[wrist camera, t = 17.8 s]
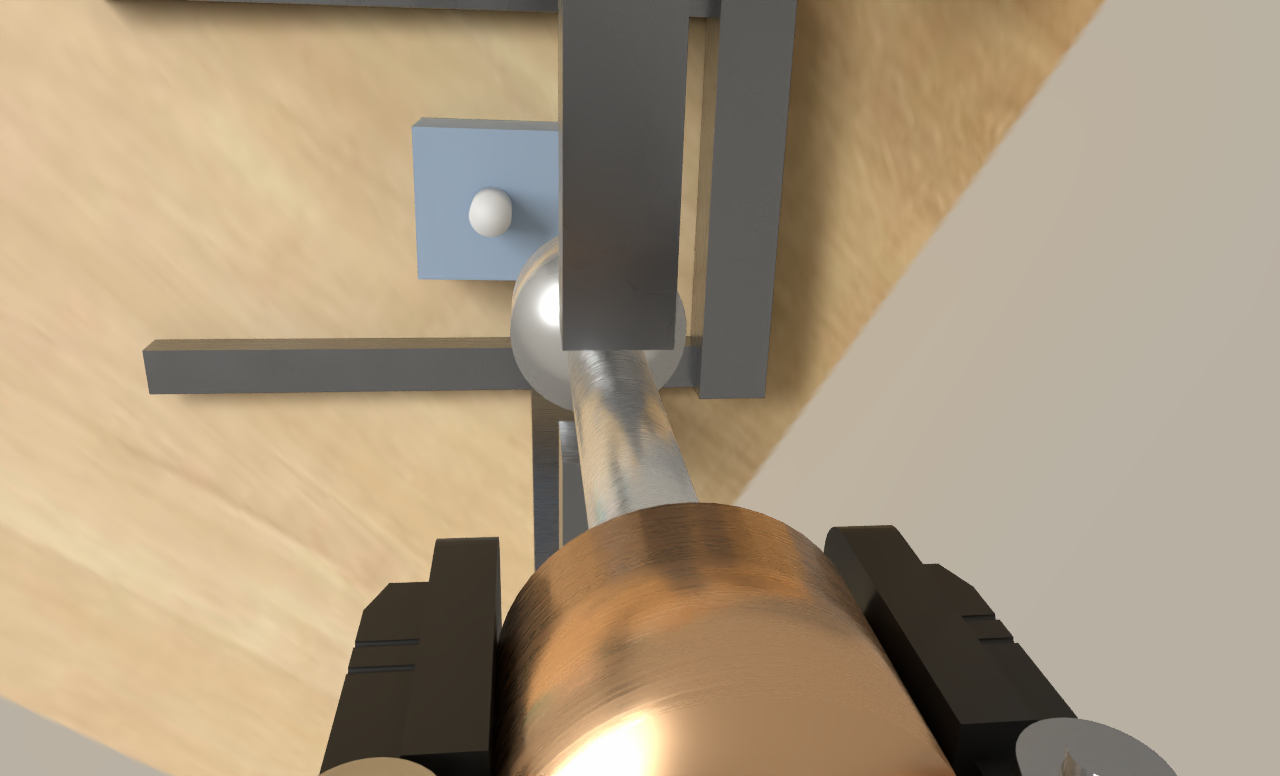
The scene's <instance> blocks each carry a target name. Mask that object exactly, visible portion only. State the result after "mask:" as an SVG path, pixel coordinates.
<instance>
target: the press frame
mask: <svg viewBox="0 0 1280 776" xmlns="http://www.w3.org/2000/svg"><path fill="white" fill-rule="evenodd" d="M189 1H220V2H250V3H280V4H310V5H340V6H371V7H401V8H431V9H461V10H491V11H522V12H552V13H558V142H559V325H560V333H561V342H562V350H563V351H597V350H674V344H675V321H676V299H677V276H678V254H679V231H680V209H681V186H682V164H683V141H684V119H685V96H686V74H687V51H688V29H689V17H703V18H707V24H706V44H705V63H704V83H703V103H702V123H701V142H700V162H699V182H698V201H697V221H696V241H695V261H694V280H693V300H692V320H691V336H686V340H685V346H684V350H683V354H682V356H681V359H680V361H679V364H678V366H677V367H676V369H675V371H674V373H673V374H672V376H671V377H670V378H669V380H668V381H667V382H666V383H665V384H664V385H663V386H662V388H664V387H694V388H695V391H696V393H697V395H698V397H699V399H730V398H765V387H766V375H767V362H768V350H769V338H770V326H771V314H772V301H773V289H774V277H775V265H776V253H777V240H778V228H779V216H780V204H781V192H782V179H783V167H784V155H785V143H786V131H787V118H788V106H789V94H790V82H791V70H792V57H793V45H794V33H795V21H796V8H797V0H189ZM143 357H144V363H145V369H146V375H147V381H148V387H149V393H150V394H210V393H285V392H361V391H437V390H512V389H531V403H532V462H533V517H534V572H536V571H537V570H538V568H539V567H540V566H541V565H542V564H543V563H544V562H545V561H546V560H547V559H548V558H549V557H550V556H552V555H553V554H554V553H555V552H557V551H558V550H559V549H560V548H562V547H563V546H564V545H565V544H567V543H568V542H569V541H571V540H573V539H574V538H576V537H578V536H579V535H581V534H582V533H584V532H586V531H587V530H589V528H588V520H587V512H586V504H585V496H584V489H583V481H582V473H581V465H580V457H579V449H578V442H577V434H576V426H575V418H574V411H571V410H567V409H564V408H562V407H560V406H558V405H555V404H554V403H552V402H550V401H549V400H547V399H545V398H544V397H543V396H542V395H540V394H539V393H538V392H537V391H536V390H535V389H534V388H533V387H532V386H531V385H530V384H529V383H528V381H527V380H526V379H525V377H524V376H523V374H522V372H521V371H520V369H519V367H518V365H517V362H516V360H515V357H514V354H513V350H512V345H511V337H500V338H354V339H207V340H154V341H153V342H152V343H151V344H150V345H148V346H147V347H146V348H145V349H144V350H143Z"/></svg>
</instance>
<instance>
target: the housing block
mask: <svg viewBox="0 0 1280 776" xmlns="http://www.w3.org/2000/svg"><path fill="white" fill-rule="evenodd" d="M412 143H413V167H414V191H415V215H416V238H417V262H418V279H441V280H517V278H518V275H519V273H520V271H521V269H522V268H523V266H524V265H525V263H526V262H527V260H528V259H529V258H530V257H531V256H532V254H533V253H534V252H535V251H536V250H537V249H539V248H540V247H541V246H542V245H543V244H545V243H546V242H548V241H549V240H551V239H552V238H555V237H557V236H559V142H558V122H541V121H511V120H481V119H451V118H421V119H420V120H419V121H418V122H416V123H415V124H414V125H413V126H412Z"/></svg>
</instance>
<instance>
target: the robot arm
mask: <svg viewBox="0 0 1280 776" xmlns="http://www.w3.org/2000/svg"><path fill="white" fill-rule="evenodd" d="M824 554H825V555H826V556H827V557H828V559H829V560H830V561H831V562H832V563H833V564H834V566H835V567H836V569H837V570H838V572H839V574H840V575H841V577H842V578H843V580H844V581H845V583H846V585H847V586H848V588H849V590H850V592H851V593H852V595H853V597H854V599H855V600H856V602H857V604H858V606H859V607H860V609H861V611H862V613H863V614H864V616H865V618H866V619H867V621H868V623H869V625H870V626H871V628H872V630H873V632H874V633H875V635H876V637H877V639H878V640H879V642H880V644H881V646H882V647H883V649H884V651H885V652H886V654H887V656H888V658H889V659H890V661H891V663H892V665H893V666H894V668H895V670H896V672H897V673H898V675H899V677H900V679H901V680H902V682H903V684H904V685H905V687H906V689H907V691H908V692H909V694H910V696H911V698H912V699H913V701H914V703H915V705H916V706H917V708H918V710H919V711H920V713H921V715H922V717H923V718H924V720H925V722H926V724H927V725H928V727H929V729H930V731H931V732H932V734H933V736H934V738H935V739H936V741H937V743H938V744H939V746H940V748H941V750H942V751H943V753H944V755H945V757H946V758H947V760H948V762H949V764H950V765H951V767H952V769H953V771H954V772H955V774H956V776H1177V775H1176V773H1175V772H1174V771H1173V769H1172V768H1171V767H1170V766H1169V765H1168V764H1167V762H1166V761H1164V759H1163V758H1161V757H1160V756H1159V755H1158V754H1157V753H1156V752H1155V751H1153V750H1152V749H1151V748H1149V747H1148V746H1146V745H1145V744H1144V743H1142V742H1140V741H1139V740H1137V739H1135V738H1133V737H1132V736H1130V735H1128V734H1126V733H1124V732H1121V731H1119V730H1117V729H1115V728H1112V727H1109V726H1106V725H1104V724H1100V723H1097V722H1093V721H1089V720H1083V719H1078V718H1077V716H1076V715H1075V714H1074V712H1073V711H1072V710H1071V709H1070V707H1069V706H1068V705H1067V704H1066V703H1065V701H1064V700H1063V699H1062V697H1061V696H1060V695H1059V694H1058V692H1057V691H1056V690H1055V689H1054V687H1053V686H1052V685H1051V684H1050V682H1049V681H1048V680H1047V679H1046V677H1045V676H1044V675H1043V674H1042V672H1041V671H1040V670H1039V669H1038V667H1037V666H1036V665H1035V664H1034V662H1033V661H1032V660H1031V659H1030V657H1029V656H1028V655H1027V654H1026V652H1025V651H1024V650H1023V648H1022V647H1021V646H1020V645H1019V644H1018V643H1014V641H1013V636H1012V635H1011V633H1010V632H1009V631H1008V630H1007V628H1005V626H1004V625H1003V623H1002V622H1001V621H1000V620H996V619H995V613H994V612H993V611H992V610H991V609H990V607H989V606H988V605H987V603H986V602H985V601H984V600H983V599H982V597H981V596H980V595H979V593H978V592H977V591H976V590H975V589H974V587H973V586H971V585H970V584H968V583H967V582H965V581H964V580H962V579H961V578H959V577H958V576H956V575H955V574H953V573H952V572H950V571H949V570H947V569H945V568H944V567H942V566H941V565H939V564H922V562H921V561H920V560H919V558H918V557H917V555H916V554H915V553H914V551H913V550H912V549H911V547H910V546H909V545H908V543H907V542H906V540H905V539H904V538H903V536H902V535H901V534H900V532H899V531H898V530H897V529H896V528H895V527H894V526H892V525H880V526H848V527H833V528H831V529H830V530H829V532H828V534H827V537H826V541H825V547H824ZM501 629H502V620H501V582H500V548H499V537H480V538H449V539H437V540H436V543H435V548H434V554H433V560H432V566H431V572H430V578H429V582H410V583H389V584H388V585H387V586H386V587H385V588H384V589H383V591H382V592H381V593H380V594H379V595H378V596H377V597H376V598H375V599H374V600H373V601H372V602H371V603H370V604H369V605H368V606H367V607H366V608H365V609H364V611H363V614H362V618H361V622H360V625H359V629H358V633H357V637H356V640H355V648H353V651H352V655H351V659H350V663H349V666H348V674H346V677H345V681H344V685H343V689H342V692H341V696H340V700H339V703H338V707H337V711H336V714H335V718H334V722H333V726H332V729H331V733H330V737H329V740H328V744H327V748H326V752H325V755H324V759H323V763H322V766H321V770H320V774H319V775H318V776H492V770H493V746H494V721H495V696H496V672H497V647H498V640H499V636H500V632H501Z"/></svg>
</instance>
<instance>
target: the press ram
mask: <svg viewBox="0 0 1280 776" xmlns="http://www.w3.org/2000/svg"><path fill="white" fill-rule="evenodd" d="M510 335H511V345H512V350H513V354H514V357H515V360H516V362H517V365H518V367H519V369H520V371H521V372H522V374H523V376H524V377H525V379H526V380H527V381H528V383H529V384H530V385H531V386H532V387H533V388H534V389H535V390H536V391H537V392H538V393H539V394H540V395H542V396H543V397H544V398H545V399H547V400H549V401H550V402H552V403H554V404H555V405H558V406H560V407H562V408H564V409H567V410H571V411H574V418H575V426H576V434H577V442H578V449H579V457H580V465H581V473H582V481H583V489H584V496H585V504H586V512H587V520H588V528H589V530H587V531H586V532H584V533H582V534H581V535H579V536H578V537H576V538H574V539H573V540H571V541H569V542H568V543H567V544H565V545H564V546H563V547H562V548H560V549H559V550H558V551H557V552H555V553H554V554H553V555H552V556H550V557H549V558H548V559H547V560H546V561H545V562H544V563H543V564H542V565H541V566H540V567H539V568H538V570H537V571H536V572H535V573H534V574H533V575H532V576H531V577H530V579H529V580H528V581H527V583H526V584H525V585H524V587H523V588H522V589H521V591H520V592H519V593H518V595H517V597H516V599H515V601H514V602H513V604H512V606H511V608H510V610H509V612H508V613H507V616H506V619H505V621H504V624H503V627H502V629H501V632H500V636H499V640H498V647H497V672H496V696H495V721H494V746H493V770H492V776H956V774H955V772H954V771H953V769H952V767H951V765H950V764H949V762H948V760H947V758H946V757H945V755H944V753H943V751H942V750H941V748H940V746H939V744H938V743H937V741H936V739H935V738H934V736H933V734H932V732H931V731H930V729H929V727H928V725H927V724H926V722H925V720H924V718H923V717H922V715H921V713H920V711H919V710H918V708H917V706H916V705H915V703H914V701H913V699H912V698H911V696H910V694H909V692H908V691H907V689H906V687H905V685H904V684H903V682H902V680H901V679H900V677H899V675H898V673H897V672H896V670H895V668H894V666H893V665H892V663H891V661H890V659H889V658H888V656H887V654H886V652H885V651H884V649H883V647H882V646H881V644H880V642H879V640H878V639H877V637H876V635H875V633H874V632H873V630H872V628H871V626H870V625H869V623H868V621H867V619H866V618H865V616H864V614H863V613H862V611H861V609H860V607H859V606H858V604H857V602H856V600H855V599H854V597H853V595H852V593H851V592H850V590H849V588H848V586H847V585H846V583H845V581H844V580H843V578H842V577H841V575H840V574H839V572H838V570H837V569H836V567H835V566H834V564H833V563H832V562H831V561H830V560H829V559H828V557H827V556H826V555H825V554H824V553H823V552H822V551H821V550H820V549H819V548H818V547H817V546H816V545H815V544H813V543H812V542H811V541H810V540H809V539H808V538H806V537H805V536H804V535H802V534H801V533H799V532H798V531H796V530H794V529H793V528H791V527H790V526H788V525H786V524H785V523H783V522H780V521H778V520H776V519H774V518H771V517H769V516H767V515H764V514H762V513H758V512H755V511H752V510H748V509H745V508H741V507H737V506H730V505H724V504H717V503H699V501H698V499H697V496H696V493H695V490H694V488H693V485H692V482H691V480H690V477H689V474H688V471H687V469H686V466H685V463H684V460H683V458H682V455H681V452H680V449H679V447H678V444H677V441H676V439H675V436H674V433H673V430H672V428H671V425H670V422H669V419H668V417H667V414H666V411H665V408H664V406H663V403H662V400H661V397H660V395H659V392H658V391H659V390H660V389H661V388H662V386H663V385H664V384H665V383H666V382H667V381H668V380H669V378H670V377H671V376H672V374H673V373H674V371H675V369H676V367H677V366H678V364H679V361H680V359H681V356H682V354H683V350H684V346H685V340H686V317H685V311H684V307H683V304H682V301H681V298H680V296H679V294H678V292H677V299H676V321H675V344H674V350H597V351H563V350H562V342H561V333H560V325H559V236H557V237H555V238H552V239H551V240H549V241H548V242H546V243H545V244H543V245H542V246H541V247H540V248H539V249H537V250H536V251H535V252H534V253H533V254H532V256H531V257H530V258H529V259H528V260H527V262H526V263H525V265H524V266H523V268H522V269H521V271H520V273H519V275H518V278H517V280H516V283H515V286H514V290H513V295H512V308H511V330H510Z"/></svg>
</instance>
